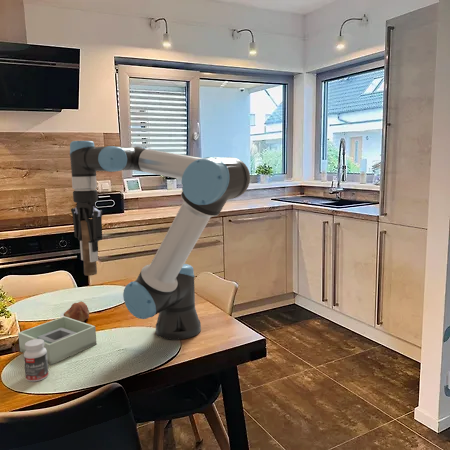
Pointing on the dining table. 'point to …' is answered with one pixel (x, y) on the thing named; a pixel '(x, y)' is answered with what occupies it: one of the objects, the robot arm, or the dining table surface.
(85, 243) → the peg
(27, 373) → the pill bottle
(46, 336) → the bin
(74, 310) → the fossil
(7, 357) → the dining table surface
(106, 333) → the dining table surface
